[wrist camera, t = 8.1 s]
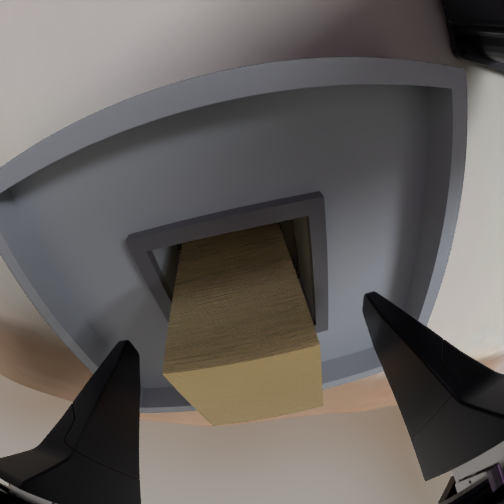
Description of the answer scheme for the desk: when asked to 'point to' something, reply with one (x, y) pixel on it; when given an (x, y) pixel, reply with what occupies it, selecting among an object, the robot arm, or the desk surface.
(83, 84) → the desk surface
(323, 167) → the grey socket tray
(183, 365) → the connector plug
